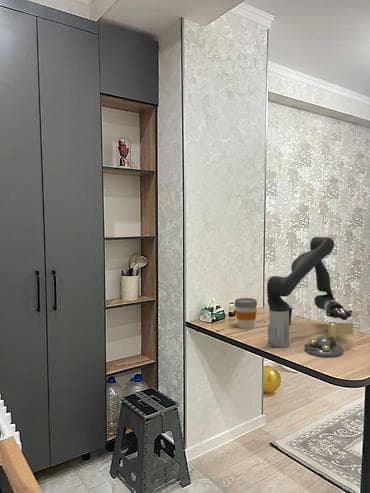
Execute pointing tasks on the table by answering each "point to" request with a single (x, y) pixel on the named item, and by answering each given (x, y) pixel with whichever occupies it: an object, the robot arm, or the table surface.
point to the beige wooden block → (338, 331)
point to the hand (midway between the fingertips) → (345, 318)
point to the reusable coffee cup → (246, 312)
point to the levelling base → (321, 354)
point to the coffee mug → (290, 314)
